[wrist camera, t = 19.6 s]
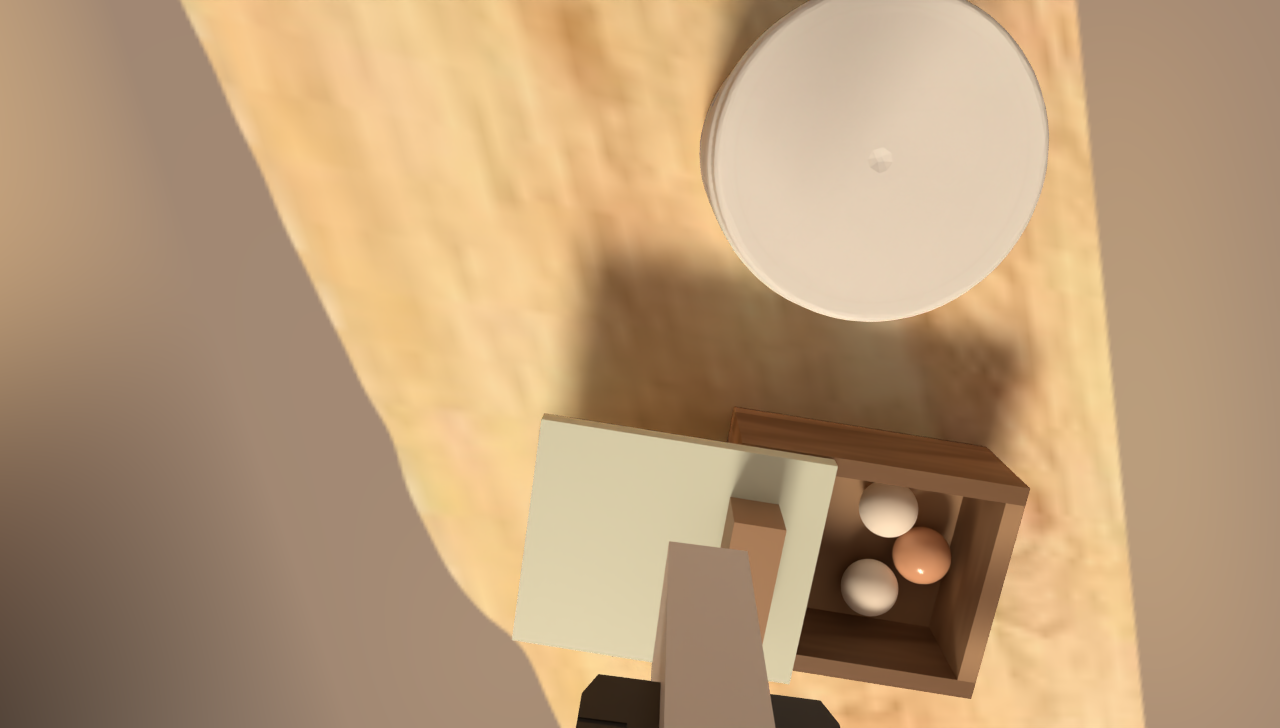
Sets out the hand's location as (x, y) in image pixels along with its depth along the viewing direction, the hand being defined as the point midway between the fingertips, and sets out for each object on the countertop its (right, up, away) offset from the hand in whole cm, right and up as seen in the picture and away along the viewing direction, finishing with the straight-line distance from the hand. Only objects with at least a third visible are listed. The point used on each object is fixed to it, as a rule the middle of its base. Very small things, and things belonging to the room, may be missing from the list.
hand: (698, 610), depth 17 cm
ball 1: (+10, -2, +24) cm, 26 cm away
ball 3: (+12, -4, +25) cm, 28 cm away
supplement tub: (+6, +14, +22) cm, 27 cm away
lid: (0, -3, +20) cm, 20 cm away
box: (+8, -3, +26) cm, 27 cm away
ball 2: (+10, -5, +25) cm, 28 cm away
